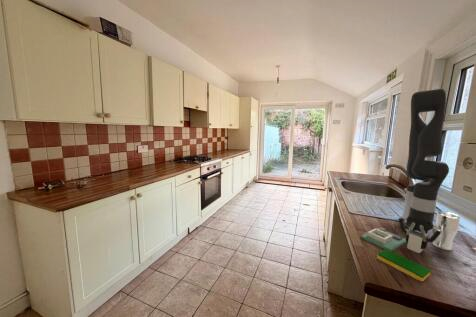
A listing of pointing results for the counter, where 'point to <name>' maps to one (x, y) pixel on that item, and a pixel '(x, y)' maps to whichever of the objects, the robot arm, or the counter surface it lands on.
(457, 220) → the beer glass
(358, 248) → the counter surface
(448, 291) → the counter surface
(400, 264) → the dish sponge
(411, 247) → the plug
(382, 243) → the board
